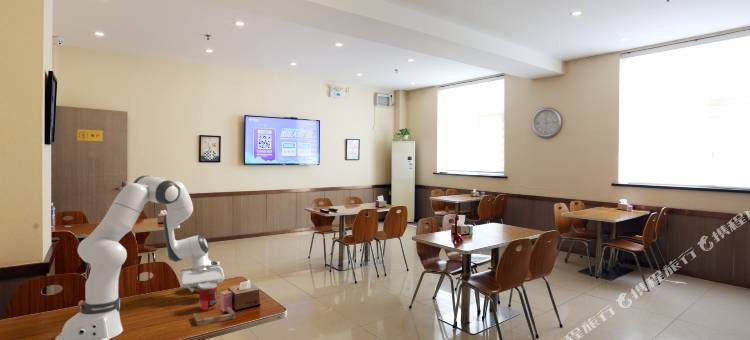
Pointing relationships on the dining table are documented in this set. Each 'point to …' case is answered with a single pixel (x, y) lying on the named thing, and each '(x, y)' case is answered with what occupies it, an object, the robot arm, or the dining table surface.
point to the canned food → (208, 296)
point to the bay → (214, 319)
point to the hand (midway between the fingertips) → (204, 291)
